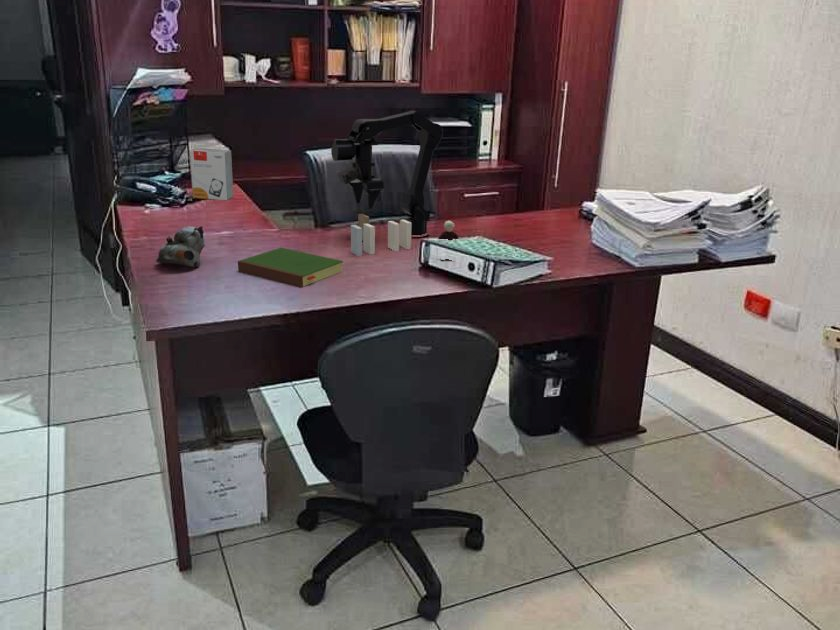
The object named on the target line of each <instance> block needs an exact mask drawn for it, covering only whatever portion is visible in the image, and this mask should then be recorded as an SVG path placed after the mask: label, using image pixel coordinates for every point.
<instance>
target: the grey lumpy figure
mask: <svg viewBox="0 0 840 630" xmlns="http://www.w3.org/2000/svg"><path fill="white" fill-rule="evenodd" d="M203 227H204V226H202V225H200V226H199V227H196V226H184V227H181V229H179V230H177V231H176V232H175V233H174V236H173V237H172V236H170V235H169V236H167V237H166V238H165V240H166V242H167V243H166V244H165V245H164V246H162V247H161V248H160V249H159V251H158V258H155V263H158V264H160V265H163V263H165V264H174V265H180V266H185V267H191V268H193V267H194V268H193V269H197V268H196V267H198V268H199V267H200V266H201V252H202V251H203V249H204V248H205V246H206V243H205V237H204V230H203Z"/></svg>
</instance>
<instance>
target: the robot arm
mask: <svg viewBox="0 0 840 630" xmlns="http://www.w3.org/2000/svg"><path fill="white" fill-rule="evenodd" d="M409 125H410V126H411V125H412V126H413V127H414V129H416V130H417V131H418V142H419V151H418V154H417V157H416V158H417V160H416V163H415V167H414V171H413V175H412V179H411V183H410V187H409V188H408V190H407V191H402V194H401V196H402V197H401V200H400V201H399V203H400V204H401V206H400V208H401V210H402V211H403V212H404V215H405V216H406V217H407V219H406V221H409V222H411V223H412V225H411V235H422V234H425V233H427V230H428V222H429V220H430V217H431V214H430V213H429V212H428V211H427V209H425V204H426V203H425V202H426V201H425V200H426V199H425V194H424V192H425V191H424V189H425V186H426V183H427V178H428V175H429V170H430V167H431V162H432V159H433V155H434V151H435V150H436V148H437V147H438V146H439V144H440V143H441V141H442V138H443V135H444V129H443V127H442V125H441V124H440V123H436V122H433V121H432V120H430V119H428V118H426V117H425V116H424V115H422V114H421V113H420V112H419V111H416V110H408V111H406V112H401V113H397V114H393V115H389V116H385V117H381V118H360V119H359V118H358V119H356V120H354V121H353V124H352V127H351V130H350V131H349V132H348V135H347V136H346V137H345V138H344V139H339V138H335V139H333V143H332V145H331V149H330V151H331V157H332V158H331V159H332V160H333V161H334V162H339V161H340V162H341V161H343V162H344V161H352V160H353V159H354V161H352V162H351V166H350V167H348V168H345V169H343V170H341V171H339V172H338V173H337V174H338V178H339V180H340V182H341V183H343V184H345V185H348V186H349V187H350V188H351V191H352V193H353V197H354V200H355V203H356V204H360V203H361V199H362V196H363V192H364V193H365V194H366V203H367V208H368V209H369V210H371V209H373V206H375V205H374V204H375V202H376V200H377V198H378V196H379V195H380V193H381V191H383V189H385V182H384V181H383V180H382V179H380V178H375V176H376V175H374V174H373V167H375V164H376V163H375V161H374V162H373V146H379V142H378V141H377V140H375V137H376V136H379V135H380V134H381V133H383V132H385V131H389V130H393V129H398V128H401V127H406V126H409ZM427 234H428V233H427Z"/></svg>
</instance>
